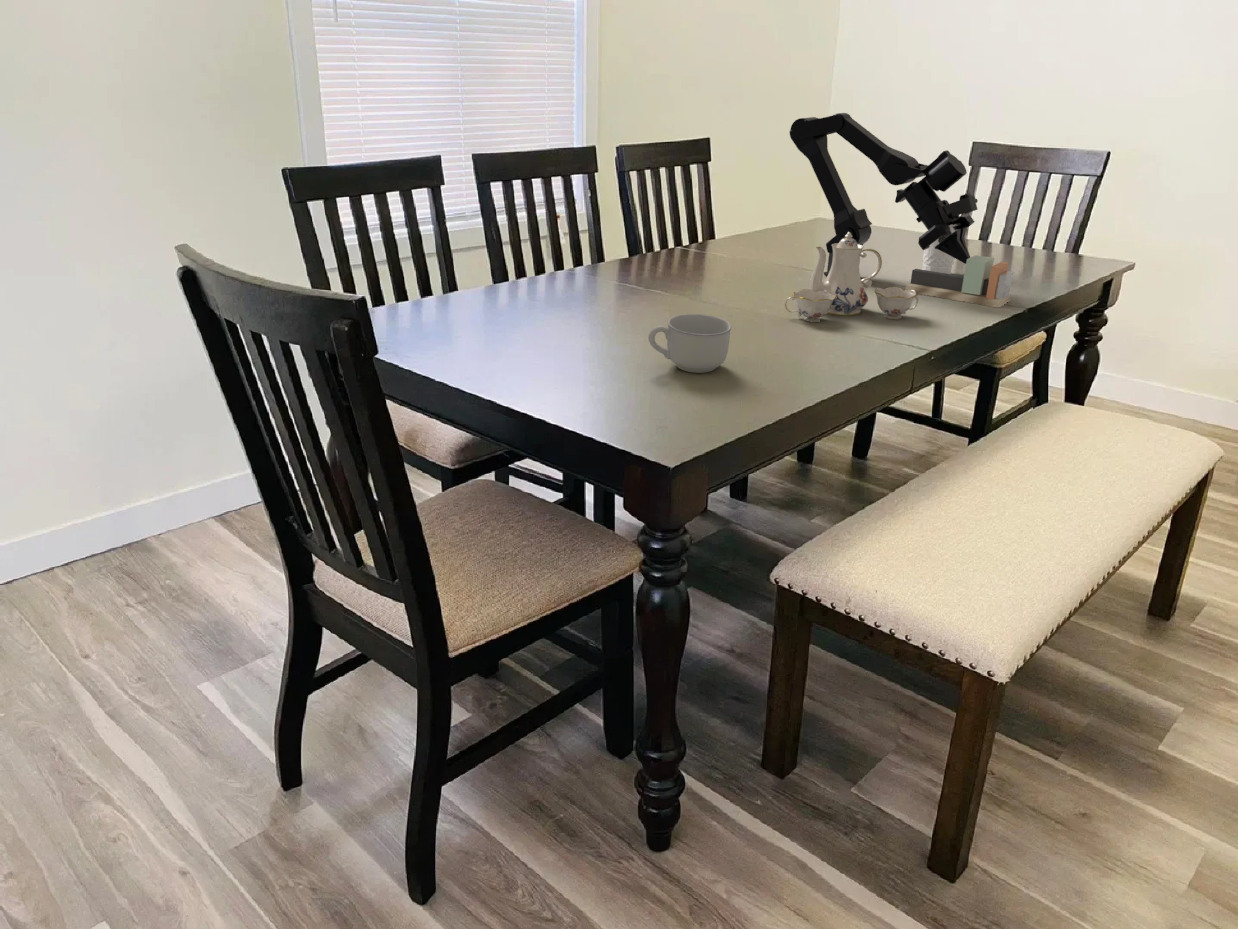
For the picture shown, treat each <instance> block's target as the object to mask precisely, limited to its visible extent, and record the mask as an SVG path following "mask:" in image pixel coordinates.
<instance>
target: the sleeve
mask: <svg viewBox="0 0 1238 929" xmlns="http://www.w3.org/2000/svg"><path fill="white" fill-rule="evenodd" d="M994 260H995V258H994V257H990V256H983V255H973V256H970V258H969V259H967V262H966V264H965V269H964V274H963V276H964V279H963V285H962V291H961V292H963V293H969V294H975V295H981V294H982V290H983V284H984V280H985V279H986V280H989V278H990V273H991V267H992V266H994Z"/></svg>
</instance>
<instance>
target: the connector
mask: <svg viewBox="0 0 1238 929" xmlns="http://www.w3.org/2000/svg"><path fill="white" fill-rule="evenodd" d="M1013 275H1014V271H1009V270H1007V271H1006V272H1004V273H1002V274H1000V275H999V280H998V286H997V291H996V296H995V299H1000V300H1002V299H1004V298H1006V297H1007V296H1009V295H1010V291H1011V286H1012V280H1013Z"/></svg>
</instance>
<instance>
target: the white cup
mask: <svg viewBox="0 0 1238 929" xmlns="http://www.w3.org/2000/svg"><path fill="white" fill-rule="evenodd" d="M927 231H928V230H927ZM927 231H925V232H927ZM938 240H939V239H937V240H936V241H935V242H933V243H932V244H931V245H929V246H930V247H929V248H928V249H925V250H923V252H922V269H921V270H927V271H934V272H940V273H947V274H952V268H953V265H954V262H955V259H956V258H954V257H952V256H950V255H948V254H946V253H944V252H942V251H940V250H938V249H935V247H936V246H937V245H938V244H939V242H938Z"/></svg>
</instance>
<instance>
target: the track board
mask: <svg viewBox="0 0 1238 929" xmlns="http://www.w3.org/2000/svg"><path fill="white" fill-rule="evenodd" d="M905 290H914V291H915V292H916V295H921V296H922V295H923V296H927V295H930V296H929V297H933V296H936V297H935V298H939V297H941V299H945V300H946V299H947V300H952V301H956V302H957V301H958V302H963V301H965V302H964V303H968V302H970V303H969V304H974V303H975V305H981V306H986V307H993V308H998V307H1000V308H1001V307H1002V306H1005V305H1007V304H1008V303H1009V302H1010V300H1011V294H1009V296H1007V297H1006V298H1004V299H1002V300H1000V299H988V298H986V296H985V295H975V294H969V293H963V292H961V291H955V290H948V289H942V288H936V287H930V286H924V285H918V284H912V283H911V282H910V283H909V284H908V283H907V284H906V285H905ZM1007 302H1008V303H1007ZM1004 304H1005V305H1004Z"/></svg>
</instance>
